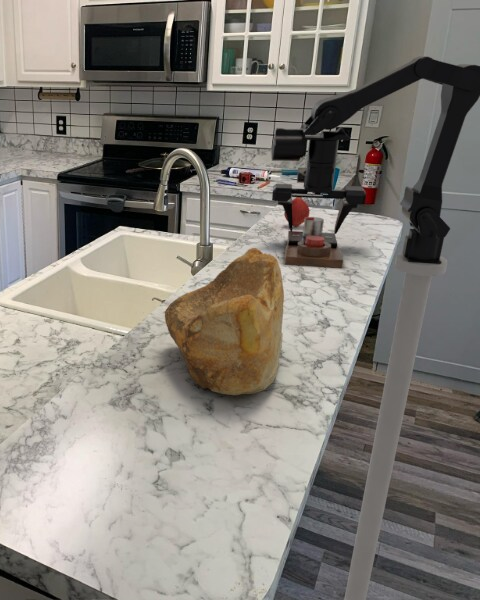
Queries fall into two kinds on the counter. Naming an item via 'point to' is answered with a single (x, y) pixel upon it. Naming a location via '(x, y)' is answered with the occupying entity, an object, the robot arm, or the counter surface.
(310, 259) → the button block
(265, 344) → the rough brown rock
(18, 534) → the counter surface
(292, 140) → the robot arm
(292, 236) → the dial panel
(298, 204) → the onion
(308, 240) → the button
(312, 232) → the dial
